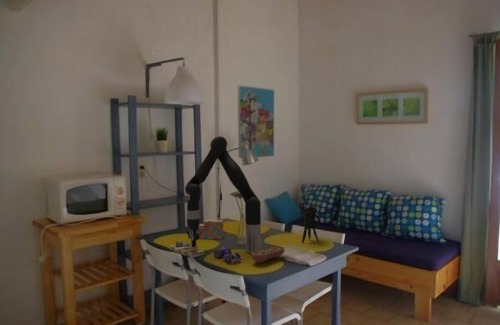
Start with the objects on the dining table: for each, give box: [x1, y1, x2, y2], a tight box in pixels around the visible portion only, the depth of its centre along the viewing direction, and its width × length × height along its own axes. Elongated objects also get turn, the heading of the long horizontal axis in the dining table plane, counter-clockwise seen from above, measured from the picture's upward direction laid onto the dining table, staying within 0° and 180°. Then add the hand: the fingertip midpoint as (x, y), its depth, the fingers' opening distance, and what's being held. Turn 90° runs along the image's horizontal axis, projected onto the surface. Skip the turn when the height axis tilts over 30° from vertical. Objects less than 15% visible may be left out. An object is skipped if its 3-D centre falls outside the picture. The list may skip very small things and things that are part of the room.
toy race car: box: [213, 244, 243, 264], centre depth 229 cm, size 10×15×6 cm, turn 46°
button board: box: [169, 244, 205, 258], centre depth 243 cm, size 24×9×2 cm, turn 42°
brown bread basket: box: [250, 245, 285, 263], centre depth 228 cm, size 23×10×5 cm, turn 134°
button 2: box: [183, 241, 191, 247], centre depth 243 cm, size 4×4×3 cm
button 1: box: [190, 245, 199, 252], centre depth 237 cm, size 4×4×3 cm
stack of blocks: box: [198, 219, 224, 240], centre depth 277 cm, size 21×6×12 cm, turn 85°
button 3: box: [175, 240, 184, 247], centre depth 249 cm, size 4×4×3 cm
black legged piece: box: [300, 203, 321, 244], centre depth 261 cm, size 19×12×25 cm, turn 138°
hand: (193, 246), depth 237 cm, fingers closed
